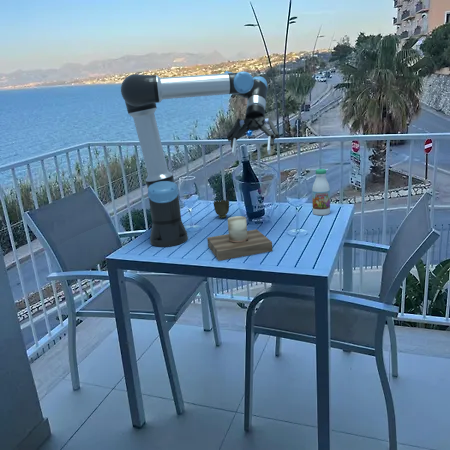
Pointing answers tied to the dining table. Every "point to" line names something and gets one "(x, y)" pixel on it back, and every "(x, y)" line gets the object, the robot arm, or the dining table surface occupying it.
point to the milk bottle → (321, 194)
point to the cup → (221, 208)
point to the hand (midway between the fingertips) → (250, 153)
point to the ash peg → (237, 229)
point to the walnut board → (239, 245)
